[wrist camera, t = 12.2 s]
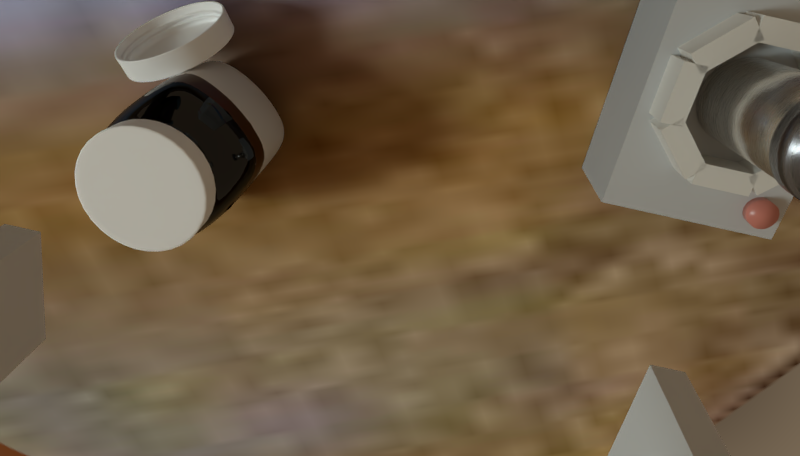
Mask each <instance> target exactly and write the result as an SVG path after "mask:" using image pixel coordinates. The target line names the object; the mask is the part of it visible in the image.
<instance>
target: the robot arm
mask: <svg viewBox="0 0 800 456" xmlns="http://www.w3.org/2000/svg"><path fill="white" fill-rule="evenodd" d="M45 339H46V336H45V315H44V294H43V273H42V252H41V232H39V231H34V230H29V229H25V228H20V227H16V226H11V225H6V224H4V225H2V226H1V227H0V382H1V381H2V380H3V379H5V378H6V377H7V376H8V375H9V374H10V373H11V372H12V371H13V370H14V369H15V368H16V367H17V366H18V365H19V364H20V363H21V362H22V361H23V360H24V359H25V358H26V357H27V356H28V355H29V354H30V353H31V352H33V351H34V350H35V349H36V348H37V347H38V346H39V345H40V344H41V343H42V342H43V341H44V340H45ZM608 456H731V455H730V453H729V452H728V450H727V448H726V446H725V444H724V442H723V441H722V439H721V437H720V435H719V434H718V432H717V430H716V428H715V426H714V424H713V422H712V420H711V419H710V417H709V415H708V413H707V411H706V409H705V408H704V406H703V404H702V402H701V400H700V398H699V397H698V395H697V393H696V391H695V389H694V387H693V386H692V384H691V382H690V380H689V378H688V376H687V375H686V373H685V372H681V371H677V370H672V369H668V368H663V367H658V366H654V365H650V366H649V368H648V370H647V373H646V375H645V377H644V379H643V381H642V383H641V386H640V388H639V390H638V392H637V394H636V396H635V398H634V401H633V403H632V405H631V407H630V409H629V411H628V413H627V416H626V418H625V420H624V422H623V424H622V426H621V428H620V431H619V433H618V435H617V437H616V439H615V441H614V443H613V446H612V448H611V450H610V452H609V454H608Z"/></svg>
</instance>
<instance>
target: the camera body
mask: <svg viewBox="0 0 800 456" xmlns="http://www.w3.org/2000/svg"><path fill="white" fill-rule="evenodd" d="M741 57H759V58H762V59H766V60H769V61H772V62H776V63H779V64H782V65H786V66H789V67H792V68H796V69H799V70H800V0H640V3H639V6H638V9H637V12H636V15H635V17H634V20H633V23H632V26H631V29H630V32H629V35H628V37H627V40H626V43H625V46H624V49H623V52H622V55H621V58H620V60H619V63H618V66H617V69H616V72H615V75H614V78H613V80H612V83H611V86H610V89H609V92H608V95H607V98H606V100H605V103H604V106H603V109H602V112H601V115H600V118H599V121H598V123H597V126H596V129H595V132H594V135H593V138H592V141H591V143H590V146H589V149H588V152H587V155H586V158H585V161H584V163H583V166H582V169H583V171H584V172H585V174H586V176H587V178H588V179H589V181H590V183H591V184H592V186H593V188H594V190H595V191H596V193H597V195H598V196H599V198H600V200H601V202H604V203H609V204H613V205H618V206H622V207H627V208H631V209H636V210H640V211H645V212H649V213H654V214H658V215H663V216H667V217H672V218H676V219H681V220H685V221H690V222H694V223H699V224H703V225H708V226H712V227H717V228H721V229H726V230H731V231H735V232H740V233H744V234H749V235H753V236H758V237H762V238H767V239H772V237H773V235H774V233H775V231H776V229H777V227H778V226H779V224H780V222H781V220H782V218H783V216H784V214H785V212H786V210H787V208H788V206H789V204H790V202H791V200H792V198H793V195H791V194H790V193H788V192H787V191H786V190H784V189H783V188H782V187H781V186H780V185H779V184H778V182H777V181H776V179H774V178H773V177H771V176H770V175H768V174H767V173H765V172H764V171H762V170H761V169H759V168H758V167H756V166H755V165H753V164H752V163H750V162H749V161H747V160H746V159H744V158H743V157H741V156H740V155H738V154H737V153H735V152H734V151H732V150H731V149H729V148H728V147H726V146H725V145H723V144H722V143H720V142H719V141H717V140H716V139H714V138H713V137H711V136H710V135H708V134H707V133H706V132H705V131H704V130H703V129H702V127H701V125H700V124H699V121H698V119H697V115H696V101H697V96H698V93H699V91H700V88H701V86H702V85H703V83H704V81H705V80H706V79H707V77H708V76H709V75H710V74H711V73H712V72H713V71H714V70H716V69H717V68H718V67H720V66H721V65H723V64H724V63H726V62H728V61H731V60H733V59H737V58H741Z"/></svg>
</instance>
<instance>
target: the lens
mask: <svg viewBox="0 0 800 456" xmlns="http://www.w3.org/2000/svg"><path fill="white" fill-rule="evenodd" d="M696 115H697V119H698V121H699V124H700V125H701V127H702V129H703V130H704V131H705V132H706V133H707V134H708V135H710V136H711V137H713V138H714V139H716V140H717V141H719V142H720V143H722V144H723V145H725V146H726V147H728V148H729V149H731V150H732V151H734V152H735V153H737V154H738V155H740V156H741V157H743V158H744V159H746V160H747V161H749V162H750V163H752V164H753V165H755V166H756V167H758V168H759V169H761V170H762V171H764V172H765V173H767V174H768V175H770V176H771V177H773V178H774V179H776V181H777V182H778V184H779V185H780V186H781V187H782V188H783V189H784V190H786V191H787V192H788V193H790V194H791V195H793V196H794V197H796V198H797V199H799V200H800V70H799V69H796V68H792V67H789V66H786V65H782V64H779V63H776V62H772V61H769V60H766V59H762V58H759V57H741V58H737V59H733V60H731V61H728V62H726V63H724V64H723V65H721V66H720V67H718V68H717V69H716V70H714V71H713V72H712V73H711V74H710V75H709V76H708V77H707V79H706V80H705V81H704V83H703V85H702V86H701V88H700V91H699V93H698V96H697V101H696Z"/></svg>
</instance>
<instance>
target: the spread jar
mask: <svg viewBox="0 0 800 456" xmlns="http://www.w3.org/2000/svg"><path fill="white" fill-rule="evenodd" d="M233 33H234V26H233V24H232V22H231V20H230V18H229V16H228V14H227V12H226V10H225V8H224V6H223V4H221V3H219V2H215V1H204V2H197V3H193V4H189V5H185V6H182V7H179V8H176V9H174V10H171V11H169V12H166V13H164V14H162V15H160V16H158V17H156V18H154V19H152V20H150V21H148V22H147V23H145V24H143V25H142V26H140V27H139V28H137V29H136V30H134V31H133V32H131V33H130V34H129V35H128V36H127V37H125V38H124V39H123V40H122V41H121V42H120V44H119V45H118V47H117V48H116V50H115V58H116V59H117V61H118V62H119V64H120V65H121V67H122V69H123V70H124V72H125V73H126V75H127V76H128V77H129V79H131V80H133V81H135V82H153V81H158V80H162V79H166V78H169V77H171V78H170V79H168V80H166V81H165V82H163V83H161V84H160V85H158V86H156V87H155V88H153V89H152V90H150V91H149V92H148V93H146V94H145V95H143V96H142V97H141V98H139V99H138V100H137V101H135V102H134V103H133V104H131V105H130V106H129V107H127V108H126V109H125V110H124V111H123V112H122V113H121V114H120V115H119V116H117V117H116V118H115V120H114V121H113V122H112V123H111V124H110V125H109V126H108V127H107V128H106V129H105V130H103V131H101V132H99V133H97V134H96V135H95V136H94V137H92V138H91V139H90V140H89V141H88V142H87V143H86V144H85V146H84V147H83V148H82V150H81V152H80V154H79V156H78V159H77V161H76V168H75V186H76V189H77V193H78V197H79V199H80V202H81V204H82V206H83V208H84V210H85V211H86V213H87V214H88V216H89V217H90V219H91V220H92V221H93V222H94V223H95V224H96V225H97V226H98V228H99V229H100V230H101V231H103V232H104V233H105V234H107V235H108V236H109V237H111V238H112V239H114V240H116V241H117V242H119V243H121V244H123V245H126V246H128V247H131V248H134V249H138V250H143V251H165V250H171V249H174V248H176V247H179V246H181V245H183V244H184V243H186V242H187V241H189V240H190V239H191V238H192V237H193V236H194V235H195V234H197V233H199V232H200V231H202V230H203V229H205V228H206V227H208V226H209V225H210V224H212V223H213V222H214V221H215V220H217V219H218V218H219V217H220V216H221V215H222V214H223V213H225V212H226V211H227V210H228V209H229V208H230V207H231V206H232V205H233V204H234V203H235V202H236V200H237V199H238V198H239V197H240V196H241V195H242V194H243V193H244V192H245V190H246V189H247V188H248V187H249V186H250V184H251V183H252V182H253V181H254V180H255V179H256V177H257V176H258V175H259V174H260V173H261V172H262V170H263V169H264V168H265V167H266V166H267V164H268V163H269V162H270V161H271V160H272V158H273V157H274V156H275V154H276V153H277V151H278V150H279V148H280V146H281V144H282V142H283V138H284V127H283V123H282V121H281V119H280V116H279V115H278V113H277V111H276V109H275V108H274V106H273V105H272V103H271V102H270V101H269V99H268V98H267V97H266V96H265V94H264V93H263V92H262V91H261V90H260V89H259V88H258V87H257V86H256V85H255V84H254V83H253V82H252V81H251V80H250V79H249V78H248V77H246V76H245V75H244V74H242V73H241V72H240V71H238V70H237V69H235V68H234V67H232V66H230V65H228V64H226V63H223V62H220V61H209V62H204V61H206V60H207V59H209V58H210V57H212V56H214V55H215V54H216V53H217V52H219V51H220V50H221V49H222V48H223V47H224V46H225V45H226V44H227V43H228V42H229V41H230V39H231V38H232V36H233ZM203 62H204V63H203ZM172 76H173V77H172Z"/></svg>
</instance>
